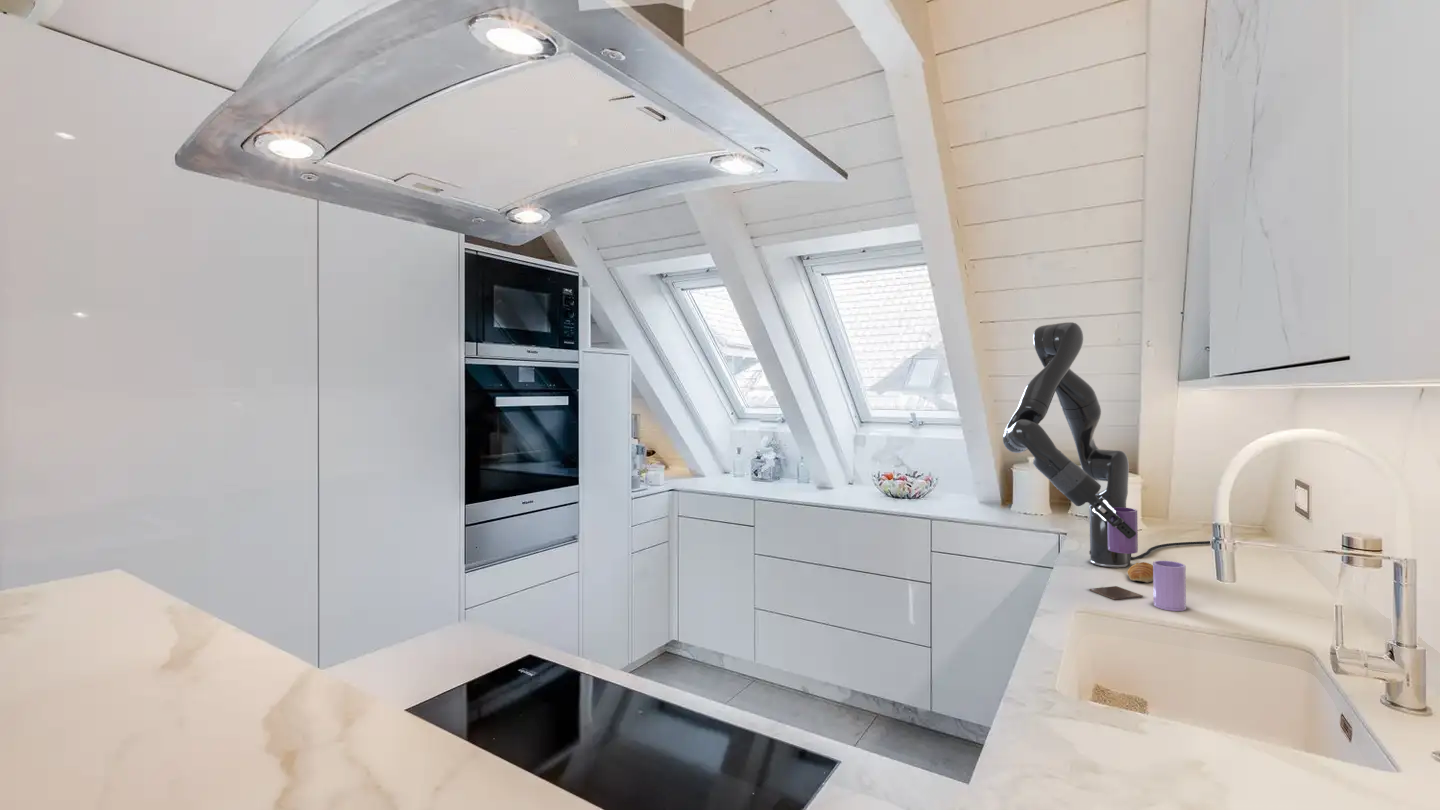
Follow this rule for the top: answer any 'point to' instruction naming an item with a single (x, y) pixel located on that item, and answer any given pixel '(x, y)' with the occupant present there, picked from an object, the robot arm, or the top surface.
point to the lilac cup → (1169, 585)
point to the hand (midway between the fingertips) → (1130, 533)
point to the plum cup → (1117, 538)
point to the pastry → (1141, 572)
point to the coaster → (1115, 593)
